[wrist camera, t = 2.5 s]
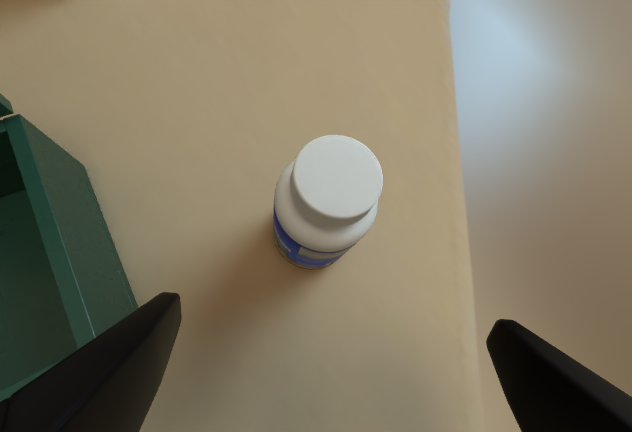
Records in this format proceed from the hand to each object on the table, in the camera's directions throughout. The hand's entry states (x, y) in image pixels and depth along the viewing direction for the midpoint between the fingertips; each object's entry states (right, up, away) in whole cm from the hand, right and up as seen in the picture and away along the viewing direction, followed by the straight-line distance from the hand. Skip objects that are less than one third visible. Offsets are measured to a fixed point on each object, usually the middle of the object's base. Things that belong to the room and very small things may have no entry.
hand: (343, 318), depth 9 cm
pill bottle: (-1, +2, +14) cm, 14 cm away
